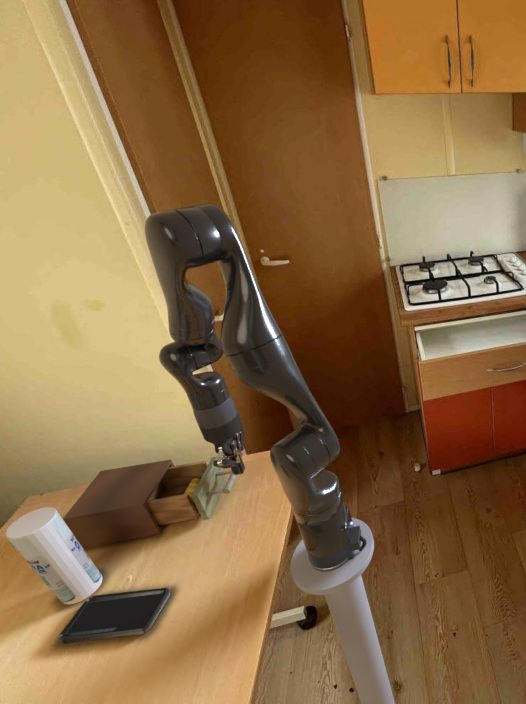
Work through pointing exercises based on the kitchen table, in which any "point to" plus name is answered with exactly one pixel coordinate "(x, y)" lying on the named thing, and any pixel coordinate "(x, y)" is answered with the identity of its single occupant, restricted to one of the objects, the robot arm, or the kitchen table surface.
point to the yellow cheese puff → (192, 487)
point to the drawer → (178, 506)
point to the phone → (115, 615)
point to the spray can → (55, 554)
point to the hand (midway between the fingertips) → (239, 472)
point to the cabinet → (117, 505)
